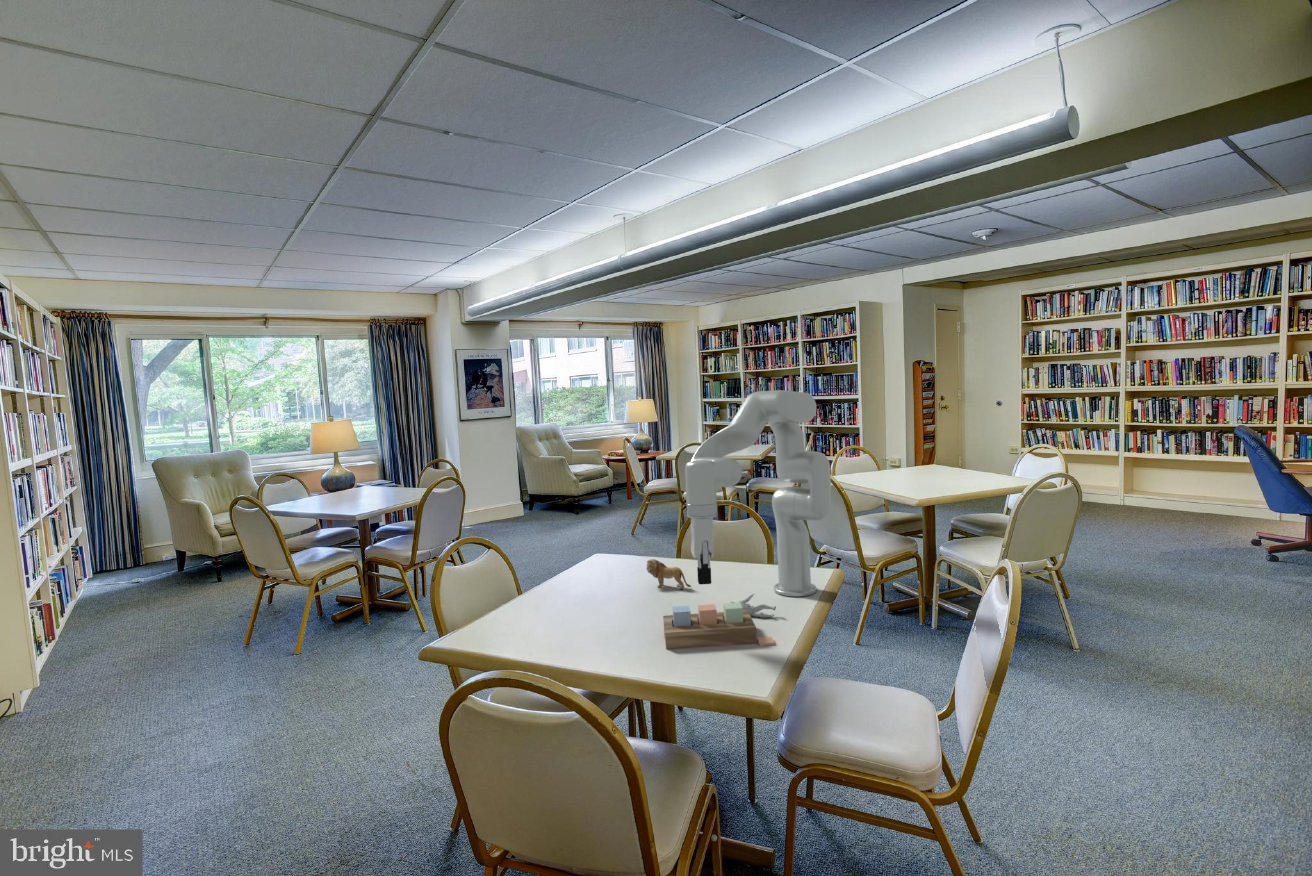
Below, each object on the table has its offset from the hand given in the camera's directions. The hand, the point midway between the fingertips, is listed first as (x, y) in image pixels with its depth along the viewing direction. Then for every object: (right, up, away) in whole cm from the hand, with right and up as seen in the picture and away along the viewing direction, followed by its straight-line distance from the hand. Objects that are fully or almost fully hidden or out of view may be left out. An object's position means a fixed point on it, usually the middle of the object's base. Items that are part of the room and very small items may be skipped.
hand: (704, 583), depth 156 cm
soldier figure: (+14, -13, +14) cm, 24 cm away
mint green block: (+7, -11, +1) cm, 14 cm away
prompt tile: (+14, -13, -4) cm, 20 cm away
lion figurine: (-8, -12, +44) cm, 47 cm away
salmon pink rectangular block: (+1, -12, +1) cm, 12 cm away
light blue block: (-5, -12, +1) cm, 13 cm away
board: (+1, -14, +1) cm, 14 cm away
